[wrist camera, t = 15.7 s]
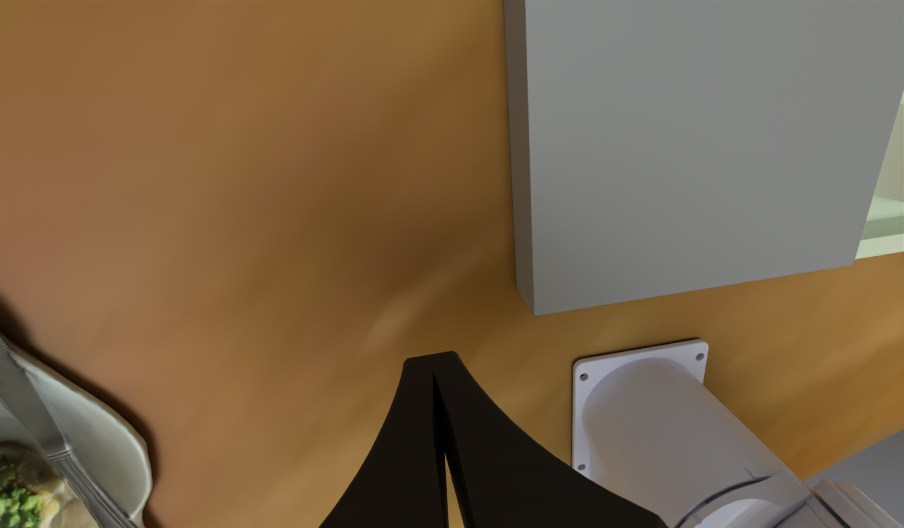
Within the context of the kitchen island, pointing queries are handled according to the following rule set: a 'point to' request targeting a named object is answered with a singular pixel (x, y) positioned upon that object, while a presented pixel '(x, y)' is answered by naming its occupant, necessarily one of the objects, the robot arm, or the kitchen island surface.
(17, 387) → the salad plate
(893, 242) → the tray
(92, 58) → the kitchen island surface
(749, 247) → the slate board
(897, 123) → the tile
